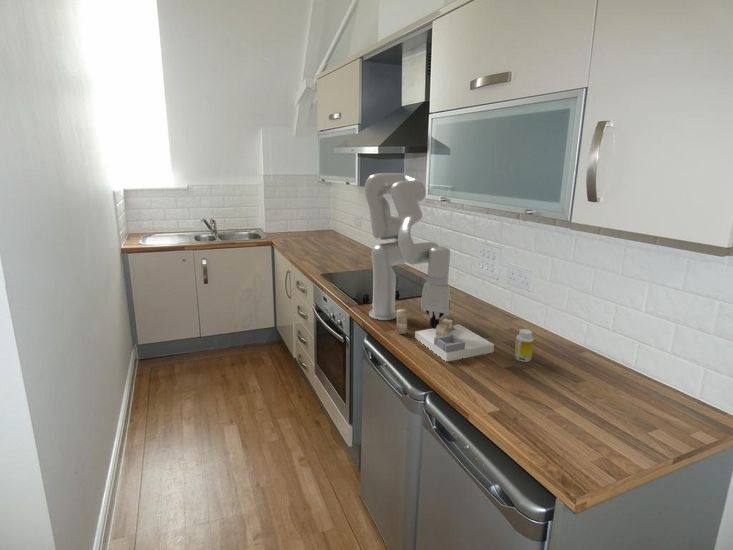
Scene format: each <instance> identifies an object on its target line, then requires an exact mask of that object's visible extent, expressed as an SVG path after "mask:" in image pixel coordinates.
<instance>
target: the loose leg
mask: <svg viewBox="0 0 733 550" xmlns="http://www.w3.org/2000/svg"><path fill="white" fill-rule="evenodd" d="M396 311H397V318H396V330H395V331H396V332H397V333H398V334H397V333H396V332H395V333H396V334H397V335H399V334H405V335H407V334H408V333H407V330H408V312H409V311H408V310H406V309H403V308H402V309H397V310H396Z"/></svg>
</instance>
